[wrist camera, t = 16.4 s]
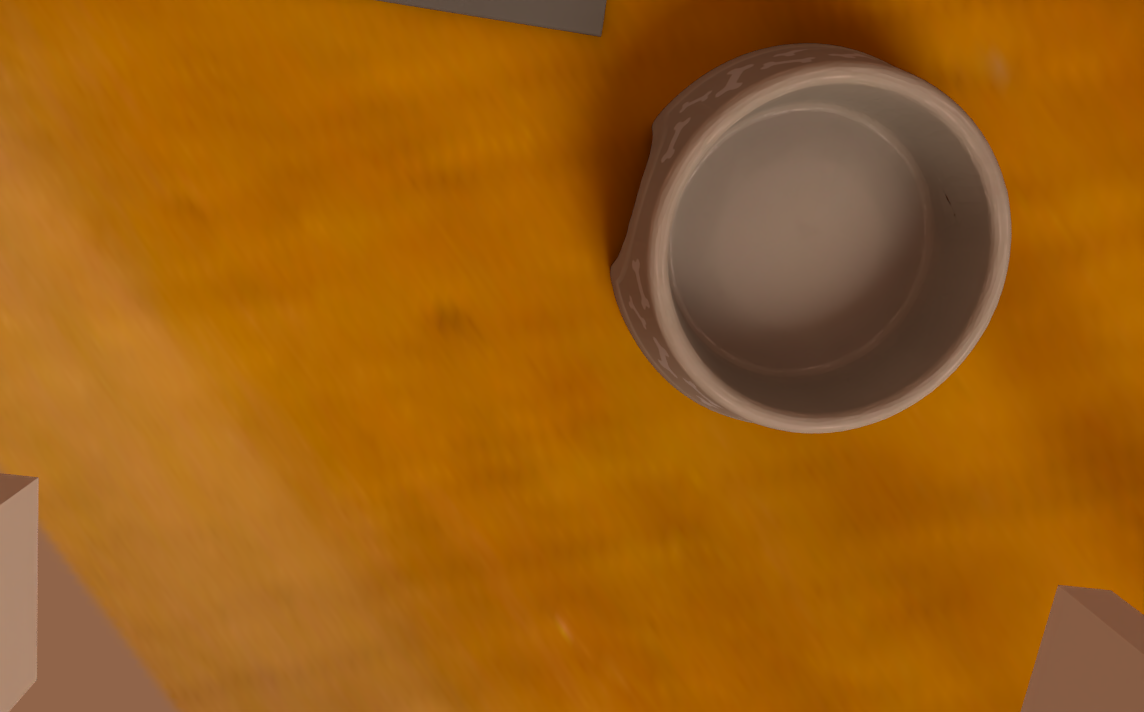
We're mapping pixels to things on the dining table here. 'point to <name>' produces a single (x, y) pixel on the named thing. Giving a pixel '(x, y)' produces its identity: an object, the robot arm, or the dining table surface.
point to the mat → (527, 12)
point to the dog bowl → (813, 239)
